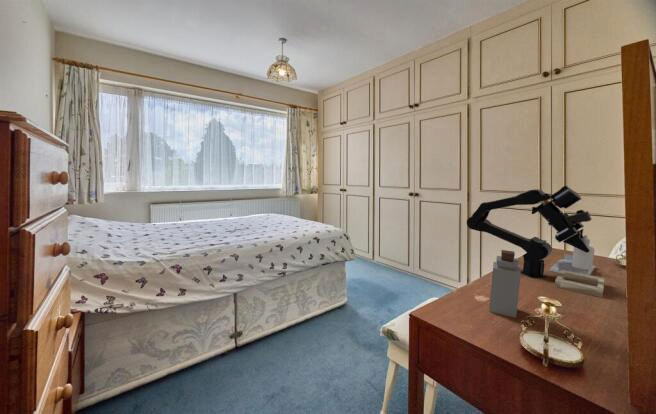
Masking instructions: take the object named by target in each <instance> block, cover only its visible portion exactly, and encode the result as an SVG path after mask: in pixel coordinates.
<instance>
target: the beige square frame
mask: <svg viewBox="0 0 656 414" xmlns="http://www.w3.org/2000/svg"><path fill="white" fill-rule="evenodd" d="M604 286H605V277H602V276H601V277H600V276H597V275H596V276H595V275H592V274H591V275H586V274H581V273H576V272H571V271H566V270H561V271H560V272H559V273H558V275H557V276H556V278H555V281H554V287H556V288H560V289H564V290H567V291H572V292H577V293H580V294H585V295H589V296H594V297H597V298H603V295H604V289H605V287H604Z"/></svg>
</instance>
